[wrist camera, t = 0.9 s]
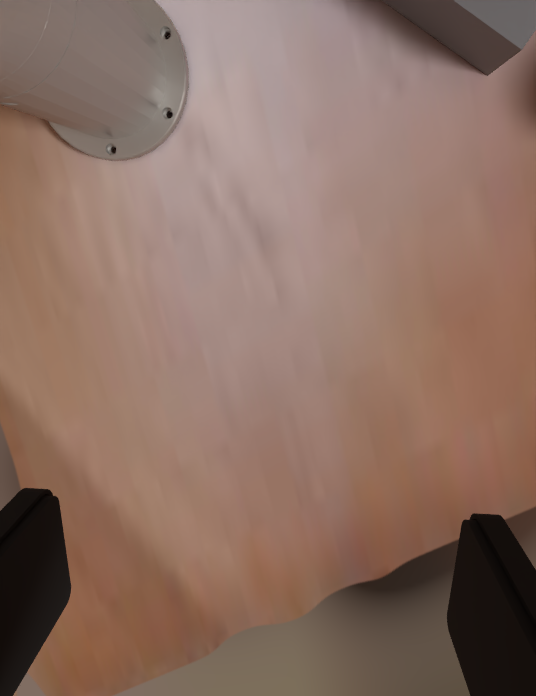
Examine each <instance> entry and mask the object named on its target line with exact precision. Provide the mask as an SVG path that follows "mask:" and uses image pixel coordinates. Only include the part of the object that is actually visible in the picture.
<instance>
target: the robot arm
mask: <svg viewBox="0 0 536 696" xmlns="http://www.w3.org/2000/svg"><path fill="white" fill-rule="evenodd" d="M167 34H171V37H170V38H169V39H166V35H167ZM188 88H189V69H188V63H187V57H186V52H185V49H184V46H183V43H182V41H181V38H180V35H179V33H178V32H177V30H176V28H175V26H174V25H173V23H172V21H171V19H170V18H169V17H168V16H167V14H166V13H165V11H164V10H163V9H162V8H161V7H160V6H159V5H158V4H157V3H156V2H155V1H154V0H0V105H3V106H6V107H9V108H12V109H15V110H18V111H21V112H24V113H27V114H30V115H33V116H36V117H39V118H42V119H45V120H47V121H48V122H49V124H50V125H51V127H52V128H53V129H54V130H55V131H56V132H57V133H58V135H59V136H60V137H61V138H62V139H63V140H65V141H66V142H67V143H69V144H70V145H71V146H72V147H74V148H75V149H77V150H79V151H81V152H83V153H85V154H87V155H90V156H93V157H96V158H100V159H105V160H111V161H123V160H130V159H134V158H138V157H141V156H143V155H145V154H147V153H149V152H152V151H153V150H154V149H156V148H157V147H158V146H160V145H161V144H162V143H163V142H164V141H165V140H166V139H167V138H168V137H169V136H170V134H171V133H172V132H173V131H174V129H175V127H176V125H177V124H178V122H179V120H180V118H181V116H182V113H183V110H184V107H185V104H186V100H187V94H188ZM169 112H172V113H173V116H172V118H168V113H169ZM115 147H116V153H115V154H114V153H113V148H115ZM70 593H71V583H70V575H69V568H68V561H67V554H66V547H65V540H64V533H63V526H62V519H61V512H60V505H59V500H58V498H57V497H56V496H53V494H52V492H51V491H50V490H48V489H34V488H24V489H22V490H21V491H19V492H18V493H17V494H16V496H15V497H14V498H13V499H12V500H11V501H10V502H9V503H8V504H7V505H6V506H5V507H4V508H3V509H2V510H1V511H0V696H13V695H14V693H15V691H16V690H17V688H18V686H19V684H20V683H21V681H22V679H23V678H24V676H25V674H26V673H27V671H28V669H29V668H30V666H31V664H32V663H33V661H34V659H35V657H36V656H37V654H38V652H39V651H40V649H41V647H42V646H43V644H44V642H45V641H46V639H47V637H48V635H49V634H50V632H51V630H52V629H53V627H54V625H55V624H56V622H57V620H58V618H59V617H60V615H61V613H62V612H63V610H64V608H65V607H66V605H67V603H68V600H69V598H70ZM447 623H448V629H449V633H450V636H451V639H452V642H453V645H454V648H455V651H456V654H457V657H458V660H459V663H460V666H461V669H462V672H463V675H464V678H465V681H466V683H467V687H468V690H469V692H470V696H536V570H535V568H534V567H533V565H532V563H531V562H530V560H529V559H528V557H527V555H526V554H525V552H524V551H523V549H522V547H521V546H520V544H519V543H518V541H517V539H516V538H515V536H514V535H513V533H512V531H511V530H510V528H509V527H508V525H507V524H506V522H505V520H504V519H503V518H502V516H500V515H492V514H475V513H474V514H472V515H471V517H470V520H463V522H462V526H461V532H460V538H459V544H458V551H457V556H456V563H455V569H454V575H453V581H452V587H451V593H450V600H449V605H448V612H447Z"/></svg>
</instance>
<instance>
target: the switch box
mask: <svg viewBox="0 0 536 696" xmlns="http://www.w3.org/2000/svg"><path fill="white" fill-rule="evenodd" d="M382 1H383V2H385V3H386V4H388V5H389V6H390V7H392V8H393V9H395V10H396V11H397V12H399V13H400V14H402V15H403V16H404V17H406V18H407V19H409V20H410V21H411V22H413V23H414V24H416V25H417V26H418V27H420V28H421V29H423V30H424V31H426V32H427V33H428V34H430V35H431V36H433V37H434V38H435V39H437V40H438V41H440V42H441V43H442V44H444V45H445V46H447V47H448V48H449V49H451V50H452V51H454V52H455V53H456V54H458V55H459V56H461V57H462V58H463V59H465V60H466V61H468V62H469V63H470V64H472V65H473V66H475V67H476V68H478V69H479V70H480V71H482V72H483V73H485V74H486V75H487V76H488V75H489V74H490V73H492V72H493V71H494V70H496V69H497V68H498V67H500V66H501V65H502V64H504V63H505V62H506V61H508V60H509V59H510V58H512V57H513V56H514V55H516V54H517V53H518V52H520V51H521V50H522V49H523V47H524V46H525V45H526V43H527V42H528V40H529V39H530V37H531V36H532V34H533V33H534V32H535V30H536V0H382Z"/></svg>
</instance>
